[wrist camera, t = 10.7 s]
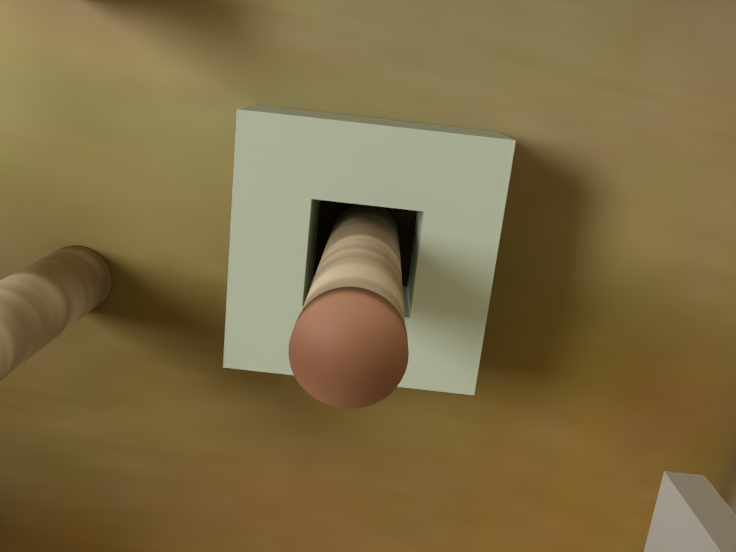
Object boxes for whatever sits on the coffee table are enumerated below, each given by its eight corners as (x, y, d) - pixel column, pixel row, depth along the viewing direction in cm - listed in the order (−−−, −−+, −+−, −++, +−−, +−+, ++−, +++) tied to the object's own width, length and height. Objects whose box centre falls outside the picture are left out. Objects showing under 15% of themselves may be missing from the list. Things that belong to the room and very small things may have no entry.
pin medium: (45, 242, 37) (-93, 307, 26) (112, 249, 37) (-1, 318, 26) (47, 304, 38) (-87, 392, 27) (111, 311, 38) (3, 402, 27)
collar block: (258, 104, 34) (237, 109, 30) (497, 131, 34) (516, 140, 30) (243, 330, 38) (223, 367, 33) (463, 354, 38) (474, 395, 33)
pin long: (334, 198, 36) (293, 290, 20) (403, 206, 36) (415, 303, 20) (327, 265, 37) (284, 401, 21) (395, 273, 37) (400, 414, 21)
